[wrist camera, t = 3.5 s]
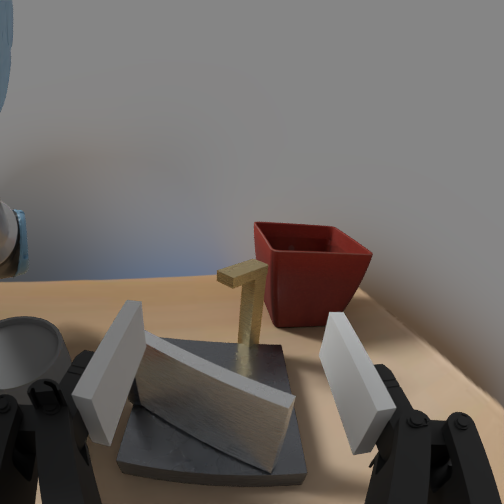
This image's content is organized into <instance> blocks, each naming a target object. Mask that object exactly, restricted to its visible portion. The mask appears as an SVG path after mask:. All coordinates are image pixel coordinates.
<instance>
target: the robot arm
mask: <svg viewBox="0 0 504 504" xmlns="http://www.w3.org/2000/svg"><path fill="white" fill-rule="evenodd" d="M12 40H13V5H12V0H0V112H1V109H2V107H3V104H4V101H5V98H6V93H7V88H8V81H9V74H10V66H11V52H10V50H11V47H12ZM28 268H29V259H28V245H27V231H26V220H25V214H24V212H23V211H22V210H11V208H10V207H9V206H8V205H7V204H5V203H4V202H2V201H1V199H0V279H3V278H9V277H16V276H18V275H22V274H25V273H26V272H27V270H28ZM145 349H146V340H145V331H144V322H143V313H142V302H141V301H131V300H127V301H126V302H125V304H124V305H123V307H122V309H121V310H120V312H119V313H118V315H117V317H116V318H115V320H114V321H113V323H112V325H111V326H110V328H109V330H108V331H107V333H106V335H105V336H104V338H103V340H102V341H101V343H100V345H99V346H98V348H97V350H96V351H95V352H92V351H87V350H84V351H83V352H81V353H80V354H79V355H77V356H76V357H75V359H74V360H73V362H72V364H71V366H70V367H69V368H68V370H67V373H65V375H64V377H63V378H62V380H61V382H60V383H59V384H58V383H57V382H56V381H54V380H52V379H40V380H37V381H35V382H33V383H32V384H31V385H30V386H29V388H28V390H27V394H28V396H29V398H30V400H31V402H32V404H33V405H22V404H18V402H17V400H16V399H15V398H14V397H13V396H11V395H9V394H2V395H0V504H35V499H36V490H37V482H38V477H39V486H40V493H41V499H42V504H102V502H101V499H100V495H99V492H98V488H97V485H96V481H95V477H94V473H93V469H92V464H91V460H90V455H89V451H88V447H87V445H86V442H85V441H86V439H87V436H88V434H89V436H90V438H91V440H92V442H94V443H98V444H102V445H106V446H111V443H112V440H113V437H114V434H115V431H116V428H117V425H118V422H119V419H120V416H121V414H122V411H123V408H124V405H125V402H126V399H127V397H128V394H129V391H130V388H131V386H132V383H133V380H134V378H135V375H136V372H137V370H138V367H139V364H140V362H141V359H142V357H143V354H144V352H145ZM319 357H320V360H321V363H322V366H323V368H324V371H325V374H326V377H327V380H328V383H329V386H330V388H331V391H332V394H333V397H334V400H335V403H336V406H337V409H338V412H339V415H340V417H341V420H342V423H343V426H344V429H345V432H346V435H347V438H348V441H349V444H350V447H351V450H352V453H353V455H357V454H363V453H368V452H371V451H372V449H373V447H374V446H375V444H376V445H377V448H378V450H379V451H378V453H377V454H376V456H375V457H374V459H373V460H372V462H371V463H370V465H369V467H370V468H371V467H372V466H373V464H374V466H373V471H372V475H371V479H370V484H369V488H368V492H367V496H366V499H365V503H364V504H502V503H501V499H500V496H499V492H498V489H497V485H496V482H495V479H494V476H493V473H492V470H491V467H490V464H489V461H488V458H487V455H486V452H485V449H484V447H483V444H482V441H481V439H480V436H479V433H478V431H477V428H476V426H475V423H474V421H473V420H472V418H471V417H470V416H468V415H467V414H465V413H462V412H455V413H452V414H451V415H450V416H449V417H448V419H447V420H446V421H439V420H430V419H429V418H428V416H427V415H426V414H424V413H423V412H421V411H418V410H414V409H413V408H412V406H411V404H410V402H409V401H408V399H407V397H406V395H405V394H404V392H403V390H402V388H401V387H400V385H399V383H398V382H397V381H396V378H395V377H394V375H393V373H392V372H391V370H389V369H388V368H387V367H386V366H385V365H383V364H377V365H373V363H372V361H371V359H370V358H369V356H368V354H367V352H366V350H365V349H364V347H363V345H362V343H361V342H360V340H359V338H358V336H357V335H356V333H355V331H354V329H353V328H352V326H351V324H350V322H349V321H348V319H347V317H346V315H345V314H344V312H329V316H328V320H327V325H326V329H325V333H324V337H323V341H322V345H321V349H320V353H319Z"/></svg>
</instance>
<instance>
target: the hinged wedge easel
mask: <svg viewBox="0 0 504 504" xmlns="http://www.w3.org/2000/svg"><path fill="white" fill-rule="evenodd" d="M144 331H145V340H146V349H145V352H144V354H143V357H142V359H141V362H140V364H139V367H138V370H137V372H136V375H135V378H134V380H133V383H132V386H131V388H130V391H129V394H128V400H129V401H130V402H131V403H132V404H135V405H142V406H144V407H145V408H147V409H148V410H150V411H151V412H153V413H155V414H156V415H158V416H159V417H161V418H163V419H164V420H166V421H168V422H169V423H171V424H173V425H174V426H176V427H178V428H179V429H181V430H183V431H185V432H186V433H188V434H190V435H192V436H194V437H195V438H197V439H199V440H201V441H203V442H205V443H207V444H209V445H211V446H213V447H214V448H216V449H218V450H220V451H223V452H225V453H227V454H229V455H231V456H233V457H235V458H237V459H239V460H242V461H244V462H246V463H248V464H251V465H253V466H255V467H258V468H260V469H262V470H265V471H267V472H270V473H271V472H272V470H273V469H274V467H275V466H276V464H277V462H278V459H279V456H280V452H281V449H282V446H283V442H284V439H285V435H286V432H287V428H288V424H289V421H290V417H291V413H292V410H293V406H294V402H295V398H296V396H294V395H292V394H289V393H286V392H283V391H281V390H278V389H275V388H273V387H270V386H267V385H265V384H262V383H259V382H257V381H254V380H252V379H249V378H247V377H244V376H242V375H240V374H237V373H235V372H232V371H230V370H228V369H225V368H223V367H221V366H218V365H216V364H214V363H212V362H209V361H207V360H205V359H203V358H201V357H198V356H196V355H194V354H192V353H190V352H188V351H186V350H184V349H181V348H179V347H177V346H175V345H173V344H171V343H169V342H167V341H165V340H163V339H161V338H159V337H157V336H155V335H153V334H152V333H150V332H148V331H146V330H144Z"/></svg>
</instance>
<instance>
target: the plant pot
mask: <svg viewBox="0 0 504 504" xmlns="http://www.w3.org/2000/svg"><path fill="white" fill-rule="evenodd" d="M254 239H255V253H256V260H258V261H261V262H263V263H266V264H268V273H267V275H266V284H265V293H264V302H265V304H266V307H267V310H268V312H269V315H270V317H271V320H272V322H273V325H274V326H276V327H304V326H326V325H327V320H328V316H329V312H343V311H344V309H345V308H346V307H347V305H348V304H349V302H350V300H351V299H352V297H353V296H354V294H355V292H356V290H357V289H358V287H359V285H360V283H361V281H362V279H363V277H364V275H365V273H366V270H367V268H368V266H369V263H370V261H371V258H372V255H373V254H372V252H370V251H369V250H368V249H366V248H365V247H363V246H362V245H361V244H359V243H358V242H356V241H355V240H354V239H352V238H350V237H349V236H348V235H346V234H345V233H343V232H342V231H340V230H339V229H337V228H335V227H332V226H320V225H305V224H289V223H272V222H254Z"/></svg>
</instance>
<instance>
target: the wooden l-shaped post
mask: <svg viewBox="0 0 504 504" xmlns="http://www.w3.org/2000/svg"><path fill="white" fill-rule="evenodd" d="M267 273H268V264H266V263H263V262H261V261H258V260H256V259H251V260H248V261H245V262H242V263H238V264H235V265H232V266H229V267H226V268H223V269H220V270H217V281H218V282H220V283H222V284H224V285H226V286H228V287H230V288H232V289H233V288H236V287H238V286H241V285H242V292H241V305H240V319H239V332H238V343H240V344H244V345H246V346H247V347H251V346H252V345H254V344H259V336H260V328H261V319H262V311H263V302H264V293H265V284H266V275H267Z"/></svg>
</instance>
